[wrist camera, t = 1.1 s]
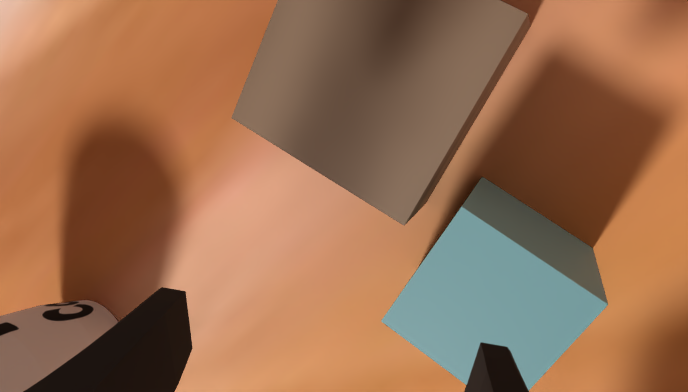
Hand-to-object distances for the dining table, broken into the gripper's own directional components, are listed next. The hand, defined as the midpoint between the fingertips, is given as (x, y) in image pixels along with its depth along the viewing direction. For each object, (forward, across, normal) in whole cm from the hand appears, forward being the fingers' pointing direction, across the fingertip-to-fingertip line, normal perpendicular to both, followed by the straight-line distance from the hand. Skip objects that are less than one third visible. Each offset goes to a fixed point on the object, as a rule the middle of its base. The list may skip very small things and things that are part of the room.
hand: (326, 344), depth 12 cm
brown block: (+12, 0, -3) cm, 13 cm away
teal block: (+9, -6, +3) cm, 11 cm away
